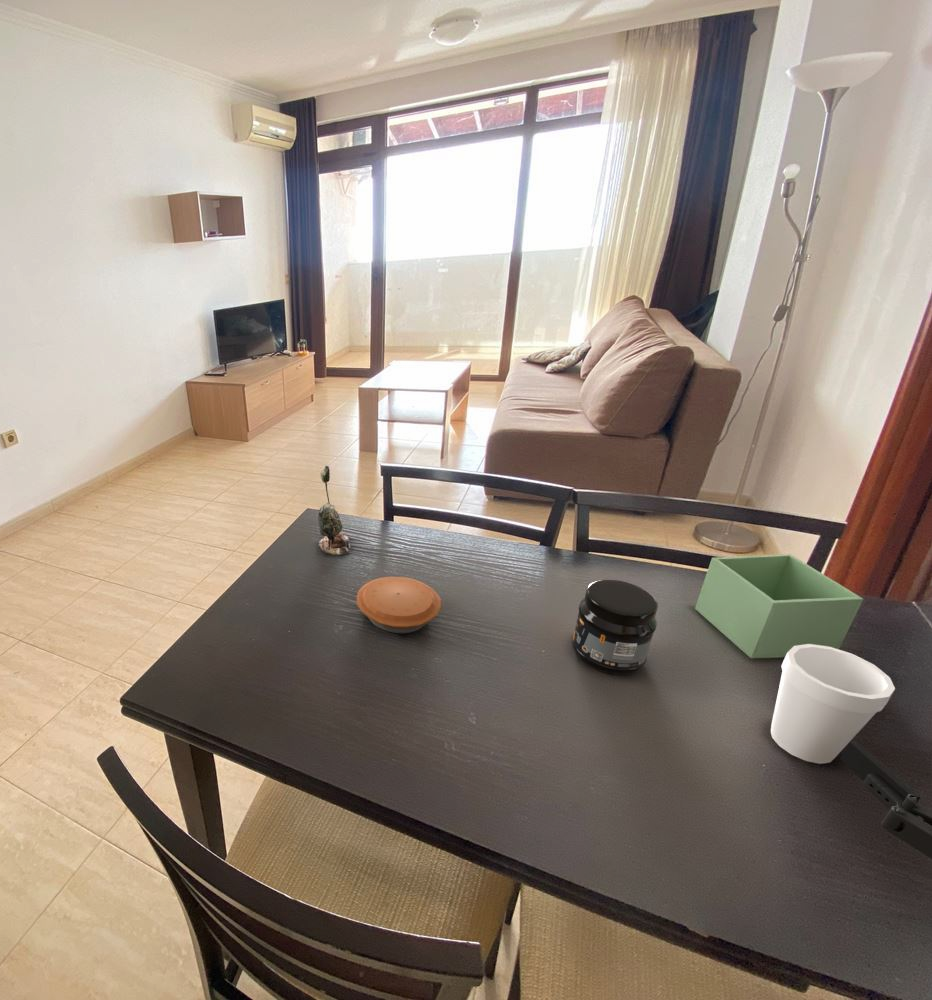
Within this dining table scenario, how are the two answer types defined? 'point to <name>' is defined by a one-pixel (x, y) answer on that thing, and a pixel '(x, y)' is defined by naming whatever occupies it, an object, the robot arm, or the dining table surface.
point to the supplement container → (615, 626)
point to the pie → (398, 603)
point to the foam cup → (825, 701)
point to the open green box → (775, 604)
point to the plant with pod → (331, 525)
